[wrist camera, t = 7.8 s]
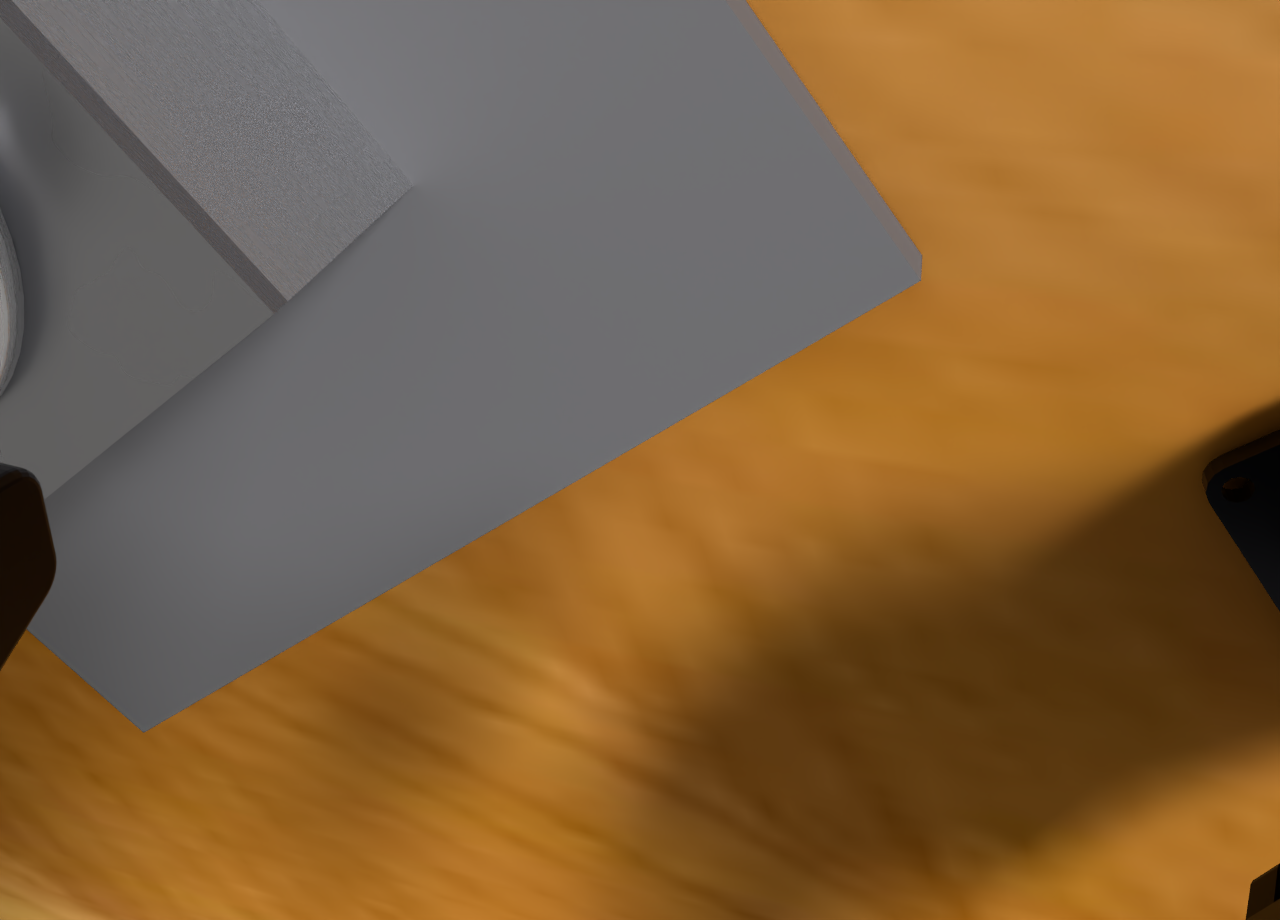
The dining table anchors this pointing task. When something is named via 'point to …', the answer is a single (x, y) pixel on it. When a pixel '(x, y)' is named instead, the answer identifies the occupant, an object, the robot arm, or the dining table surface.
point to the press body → (159, 204)
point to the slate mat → (471, 322)
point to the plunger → (9, 307)
